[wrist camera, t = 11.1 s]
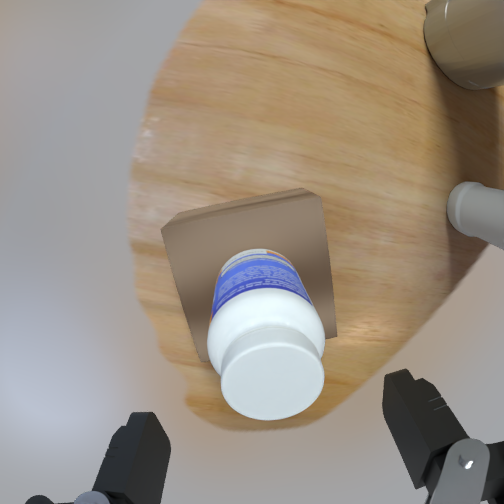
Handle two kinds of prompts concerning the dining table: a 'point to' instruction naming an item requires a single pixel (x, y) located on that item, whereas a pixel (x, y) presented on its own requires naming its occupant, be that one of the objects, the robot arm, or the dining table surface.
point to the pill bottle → (265, 337)
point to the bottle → (477, 212)
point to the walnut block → (245, 238)
